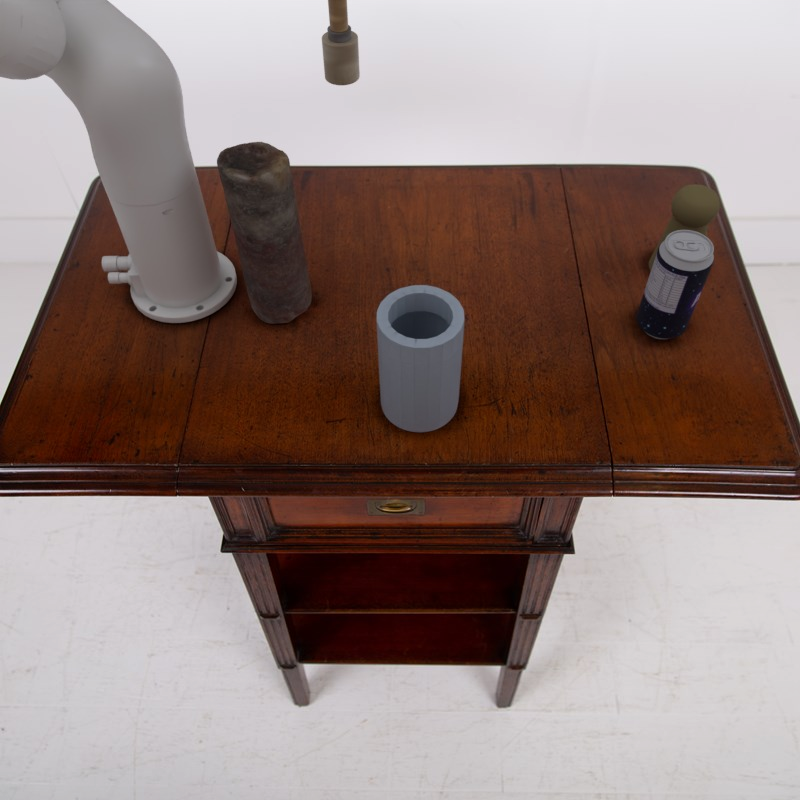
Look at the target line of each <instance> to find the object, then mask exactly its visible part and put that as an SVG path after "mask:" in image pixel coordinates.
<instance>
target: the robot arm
mask: <svg viewBox="0 0 800 800" xmlns="http://www.w3.org/2000/svg"><path fill="white" fill-rule="evenodd" d="M44 75H45V76H46V77H48V78H50V79H51V80H52V81H53V82H54V83H55V84H56V85H57V87H59V89H60V90H61V91H62V93H63V94H64V95H65V96H66V97H67V98H68V99H69V101H70V102H71V103H72V104H73V105H74V106H75V108H76V109H77V111H78V113H79V114H80V117H81V119H82V122H83V124H84V127H85V128H86V132H87V135H88V139H89V142H90V148H91V152H92V157H93V161H94V163H95V166H96V169H97V173H98V175H99V177H100V180H101V183H102V186H103V189H104V191H105V193H106V195H107V198H108V200H109V203H110V206H111V208H112V211H113V214H114V215H115V216H114V217H115V219H116V222H117V224H118V226H119V229H120V233H121V235H122V238H123V240H124V243H125V245H126V248H127V251H128V255H127V256H126V255H125V256H122V255H121V256H120V255H103V256H102V257H101V269H102V270H103V272H104V273H107V281H108V282H107V283H109V284H110V285H121V284H128V285H129V286H130V289H129V291H130V297H131V299H132V302H133V304H134V306H135V308H137V310H138V311H139V312H140V313H141V314H143V315H144V316H145V317H147V318H149V319H152V320H153V321H158V322H160V323H166V324H167V323H169V324H182V323H183V324H184V323H190V322H195V321H198V320H201V319H204V318H206V317H209V316H211V315H213V314H214V313H216V312H217V311H219V310H221V308H222V307H224V306H225V305H227V304H228V302H229V301H230V300H231V298H232V297H233V295H234V294H235V292H236V288H237V284H238V276H237V273H236V268H235V266H234V264H233V262H232V261H231V260H230V259H229V257H227V256H226V255H224V254H223V253H222V252H220V251H218V250H217V247H216V243H215V239H214V235H213V231H212V228H211V223H210V219H209V216H208V212H207V208H206V204H205V200H204V196H203V193H202V189H201V185H200V182H199V178H198V173H197V170H196V167H195V163H194V159H193V155H192V151H191V146H190V143H189V138H188V133H187V128H186V119H185V108H184V96H183V89H182V84H181V81H180V77H179V75H178V73H177V70H176V68H175V66H174V64H173V62H172V61H171V59H170V58H169V56H168V55H167V52H165V50H164V49H163V48H162V47H161V46H160V45H159V44H158V42H157V41H156V40H155V39H153V37H152V36H151V35H150V34H149V33H148V32H146V31H145V30H144V29H142V28H141V26H139V25H138V24H137V23H135V22H134V20H132V19H131V18H130V17H128V16H126V15H125V13H123V12H122V11H121V10H119V9H118V8H117V7H116V6H115V5H114V4H113V3H112V2H110V1H109V0H0V78H4V79H9V80H17V81H18V80H20V81H21V80H22V81H26V80H27V81H28V80H32V79H39V78H40V77H42V76H44Z"/></svg>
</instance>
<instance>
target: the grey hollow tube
mask: <svg viewBox="0 0 800 800" xmlns="http://www.w3.org/2000/svg"><path fill="white" fill-rule="evenodd" d="M465 320H466V319H465V310H464V308H463V306H462V304H461V302H460V300H459V299H457V298H456V296H454V295H453V294H452V293H451V292H448V291H446V290H444V289H442V288H441V287H437V286H433V285H428V284H414V285H413V284H412V285H409V286H403V287H400V288H397V289H396V290H394V291H392V292H390V293H389V294H387V295H386V296H385V297H384V298H383V300H381V301H380V303H379V306H378V308H377V310H376V339H377V355H378V356H377V357H378V374H379V376H378V377H379V393H380V405H381V410H382V413H383V414H384V416H385V417H386V419H387V420H388V421H389V422H390V423H392V425H394V426H395V427H397V428H399V429H401V430H404V431H407V432H410V433H411V432H412V433H427V432H433V431H436V430H438V429H440V428H442V427H444V426H445V425H447V424H448V423H449V422H451V420H452V419H453V418H454V416H455V414H456V413H457V410H458V405H459V398H460V387H461V373H462V360H463V346H464V335H465V334H464V333H465Z"/></svg>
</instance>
